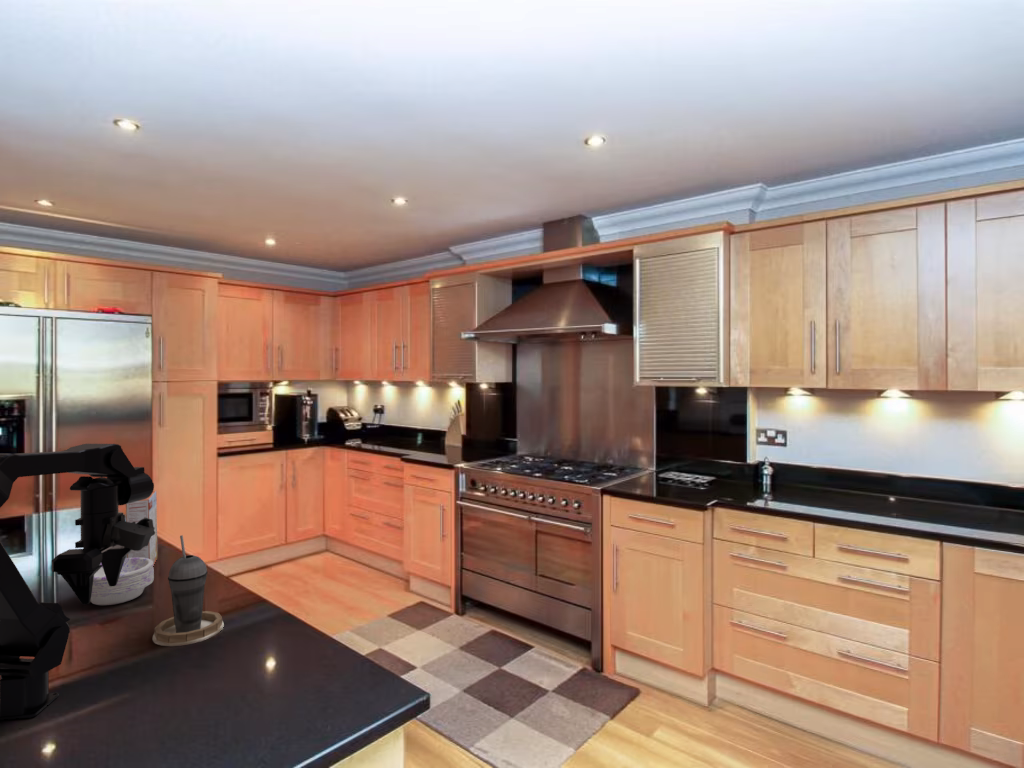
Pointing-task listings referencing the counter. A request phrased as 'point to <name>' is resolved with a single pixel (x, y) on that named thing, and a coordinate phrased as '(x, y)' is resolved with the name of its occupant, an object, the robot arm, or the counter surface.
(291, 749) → the counter surface
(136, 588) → the paper bowls
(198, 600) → the beverage cup
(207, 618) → the ring holder
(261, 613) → the counter surface
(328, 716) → the counter surface
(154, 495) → the white cardboard box
